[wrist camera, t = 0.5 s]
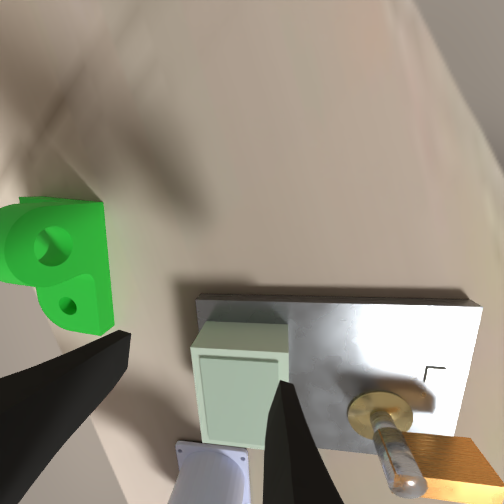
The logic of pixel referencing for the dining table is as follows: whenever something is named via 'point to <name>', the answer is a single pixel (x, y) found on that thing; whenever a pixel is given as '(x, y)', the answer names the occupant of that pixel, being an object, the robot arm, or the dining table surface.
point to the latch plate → (366, 359)
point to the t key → (434, 465)
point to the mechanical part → (60, 259)
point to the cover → (238, 379)
